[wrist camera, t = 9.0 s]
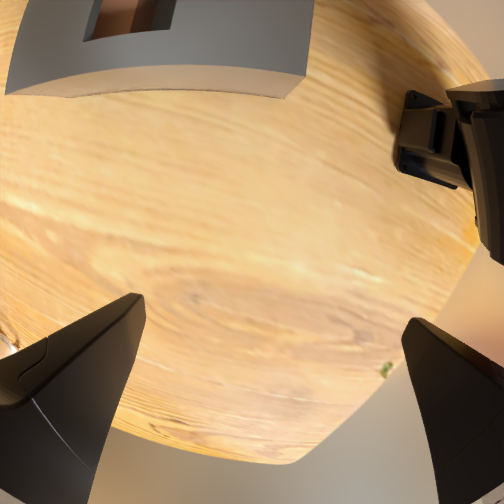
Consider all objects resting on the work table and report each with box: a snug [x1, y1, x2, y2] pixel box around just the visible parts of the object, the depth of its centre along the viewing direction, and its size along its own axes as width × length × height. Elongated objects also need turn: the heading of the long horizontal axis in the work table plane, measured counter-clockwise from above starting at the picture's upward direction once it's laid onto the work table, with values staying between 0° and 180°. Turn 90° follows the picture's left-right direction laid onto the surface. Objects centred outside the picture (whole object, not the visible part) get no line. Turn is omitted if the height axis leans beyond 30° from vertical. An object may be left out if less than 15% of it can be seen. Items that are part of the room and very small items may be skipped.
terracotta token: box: [92, 0, 158, 40], centre depth 11 cm, size 3×6×4 cm
